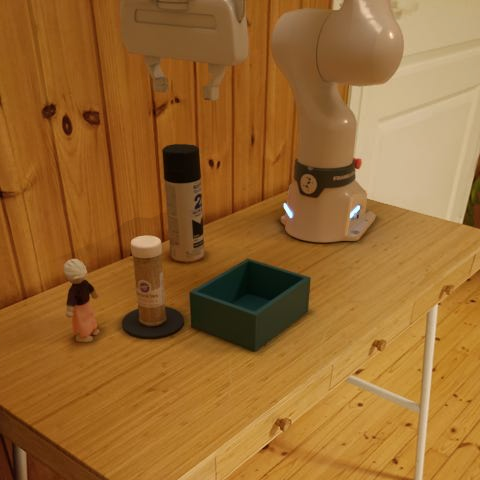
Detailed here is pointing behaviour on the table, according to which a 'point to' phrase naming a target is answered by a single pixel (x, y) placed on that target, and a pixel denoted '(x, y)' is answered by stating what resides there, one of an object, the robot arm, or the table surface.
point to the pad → (153, 332)
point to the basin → (249, 303)
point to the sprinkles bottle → (149, 279)
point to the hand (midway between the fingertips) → (185, 95)
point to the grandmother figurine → (80, 301)
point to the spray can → (184, 201)
